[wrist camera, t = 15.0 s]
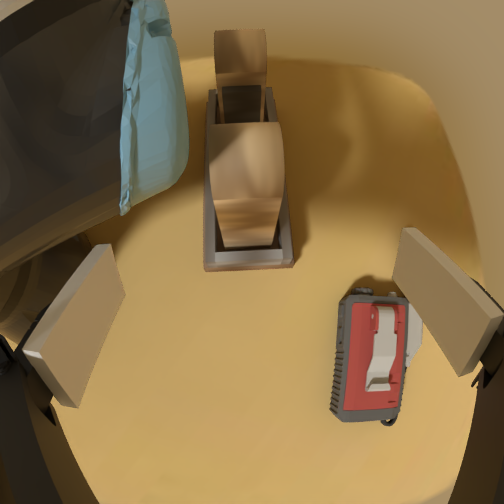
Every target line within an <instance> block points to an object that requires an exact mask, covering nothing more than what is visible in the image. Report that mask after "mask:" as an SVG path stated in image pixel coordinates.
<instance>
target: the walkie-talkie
mask: <svg viewBox="0 0 504 504" xmlns="http://www.w3.org/2000/svg"><path fill="white" fill-rule="evenodd" d="M372 295H373V290H372V289H370V288H354V289H352V291H351V295H348V296H346V297H344V298H342V299H341V301H340V302H339V309H338V326H337V340H336V349H337V352H336V353H335V354H336V358H335V360H336V363H335V364H334V366H335V370H334V372H335V374H334V375H333V377H334V381H333V387H332V389H333V392H331V394H332V397H331V403H330V405H331V408H330V411H331V412H332V413H333V414H334V415H335V416H336V417H337V418H338V419H339V420H341V421H342V422H364V421H377V420H381V423H382V424H383V425H385V426H391V425H393V424H394V423H395V421H396V419H397V417H398V413H399V412H400V406H401V401H402V399H401V398H402V395H403V393H402V391H403V384H404V378H405V376H404V374H405V372H406V369H407V367H410V361H411V360H412V358H413V357H414V355H415V354H416V352H417V351H418V349H419V348H420V346H421V344H422V331H423V321H422V319H421V318H420V316H419V315H418V314H417V312H416V311H415V309H414V308H413V306H412V305H411V304H410V302H409V301H408V299H407V298H406V297H405V298H401V297H397V295H396V292H389V293H388V297H383V296H372ZM387 419H390V421H388V422H386V420H387Z"/></svg>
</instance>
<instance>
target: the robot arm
mask: <svg viewBox="0 0 504 504" xmlns="http://www.w3.org/2000/svg"><path fill="white" fill-rule="evenodd" d="M171 34H172V30H171V25H170V20H169V12H168V9H167V6H166V3H165V0H0V333H1V334H2V335H1V334H0V504H99V502H98V501H97V499H96V497H95V495H94V494H93V492H92V490H91V488H90V487H89V485H88V483H87V481H86V479H85V477H84V475H83V473H82V472H81V470H80V468H79V466H78V463H77V461H76V459H75V457H74V455H73V453H72V451H71V449H70V446H69V444H68V442H67V439H66V437H65V435H64V432H63V430H62V427H61V425H60V422H59V420H58V417H57V414H56V411H55V409H54V407H53V406H52V404H51V403H50V402H51V399H52V397H53V396H54V397H55V398H56V399H57V401H58V402H59V403H60V404H61V405H63V406H68V407H73V408H79V405H80V402H81V399H82V397H83V394H84V391H85V388H86V386H87V383H88V380H89V378H90V375H91V373H92V370H93V368H94V365H95V363H96V360H97V358H98V355H99V353H100V350H101V348H102V346H103V343H104V341H105V338H106V336H107V334H108V332H109V329H110V327H111V325H112V322H113V320H114V318H115V316H116V314H117V311H118V309H119V307H120V305H121V303H122V301H123V299H124V296H125V292H124V289H123V285H122V282H121V279H120V275H119V272H118V269H117V265H116V261H115V258H114V254H113V250H112V247H111V244H99V245H96V246H95V247H94V248H93V249H92V248H91V245H90V243H89V240H88V238H87V237H86V235H85V234H84V232H83V231H85V230H87V229H89V228H91V227H93V226H95V225H97V224H99V223H101V222H103V221H105V220H108V219H110V218H112V217H114V216H116V215H118V214H120V215H121V216H122V215H125V214H126V213H127V212H128V211H129V210H130V208H131V207H132V206H134V205H136V204H138V203H140V202H142V201H144V200H146V199H148V198H150V197H152V196H154V195H156V194H158V193H160V192H162V191H164V190H166V189H168V188H170V187H171V186H172V185H174V184H175V183H176V182H177V181H178V179H179V178H180V176H181V175H182V173H183V172H184V170H185V168H186V165H187V162H188V157H189V127H188V116H187V107H186V99H185V92H184V85H183V79H182V73H181V67H180V61H179V56H178V51H177V47H176V42H175V40H174V39H173V38H172V37H171ZM392 279H393V280H394V282H395V283H396V284H397V286H398V287H399V288H400V290H401V291H402V292H403V294H404V295H405V297H406V298H407V299H408V301H409V302H410V304H411V305H412V306H413V308H414V309H415V311H416V312H417V314H418V315H419V316H420V318H421V319H422V321H423V322H424V324H425V325H426V327H427V328H428V330H429V331H430V333H431V334H432V336H433V337H434V339H435V340H436V342H437V343H438V345H439V346H440V348H441V350H442V351H443V353H444V354H445V356H446V357H447V359H448V361H449V362H450V364H451V366H452V367H453V369H454V370H455V372H456V374H457V375H458V377H460V376H463V375H465V374H468V373H471V372H473V370H474V369H475V367H476V365H477V364H478V362H479V360H480V361H481V363H482V364H483V367H482V369H481V370H480V372H479V373H478V375H477V376H476V378H475V379H474V381H473V382H472V385H471V387H473V386H474V385H475V384H476V382H477V381H479V382H478V386H477V387H476V388H477V396H476V403H475V408H474V414H473V419H472V424H471V429H470V433H469V438H468V442H467V446H466V450H465V453H464V457H463V461H462V464H461V467H460V471H459V474H458V477H457V480H456V483H455V486H454V489H453V492H452V494H451V497H450V500H449V502H448V504H504V310H503V309H502V307H501V306H500V305H499V304H498V303H497V302H496V301H495V300H494V299H493V298H492V297H490V294H489V293H488V292H487V291H485V289H484V288H483V287H482V286H481V285H480V284H479V283H478V282H477V281H475V280H474V279H472V278H470V277H469V276H468V275H467V274H466V273H465V272H464V271H463V270H462V269H461V268H460V267H459V266H458V265H457V264H456V263H454V262H453V261H452V260H451V259H450V258H449V257H448V256H447V255H446V254H445V253H444V252H443V251H442V250H441V249H439V248H438V247H437V246H436V245H435V244H434V243H433V242H432V241H431V240H429V239H428V238H427V237H426V236H425V235H424V234H423V233H421V232H420V231H419V230H418V229H417V228H416V227H409V228H402V232H401V238H400V243H399V248H398V253H397V258H396V262H395V267H394V271H393V276H392ZM3 335H4V336H5V337H7V338H8V339H10V340H12V341H13V342H15V343H17V344H18V346H17V348H16V349H15V351H14V352H13V350H12V349H11V347H10V345H9V344H8V342H7V340H6V339H5V337H4V336H3Z"/></svg>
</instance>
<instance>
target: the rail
mask: <svg viewBox="0 0 504 504" xmlns="http://www.w3.org/2000/svg"><path fill="white" fill-rule="evenodd" d="M214 59H215V73H216V82H217V89H214V90H209V98H208V102H207V108H206V129H205V156H204V202H203V260H204V270H205V271H206V272H218V271H239V270H259V269H278V268H292V267H293V265H294V253H293V243H292V233H291V224H290V214H289V205H288V197H287V188H286V180H285V172H284V191H283V197H282V202H281V206H280V211H279V215H278V219H277V224H276V228H275V232H274V237H273V241H272V245H271V249H252V250H231V251H226V250H225V246H224V242H223V238H222V234H221V230H220V226H219V222H218V218H217V214H216V210H215V206H214V202H213V198H212V191H211V183H210V172H209V129H210V125H214V124H230V123H253V122H278V120H277V113H276V106H275V100H274V99H273V93H272V87H266V72H267V48H266V35H265V31H264V29H239V30H222V31H215V33H214Z"/></svg>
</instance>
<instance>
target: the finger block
mask: <svg viewBox="0 0 504 504" xmlns="http://www.w3.org/2000/svg"><path fill="white" fill-rule="evenodd" d="M209 172H210V183H211V191H212V198H213V202H214V206H215V210H216V214H217V218H218V222H219V226H220V230H221V234H222V238H223V242H224V246H225V250H226V251H231V250H252V249H271V245H272V241H273V237H274V232H275V228H276V224H277V219H278V215H279V211H280V206H281V202H282V197H283V191H284V148H283V138H282V132H281V128H280V124H279V123H278V122H253V123H230V124H214V125H210V129H209Z"/></svg>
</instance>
